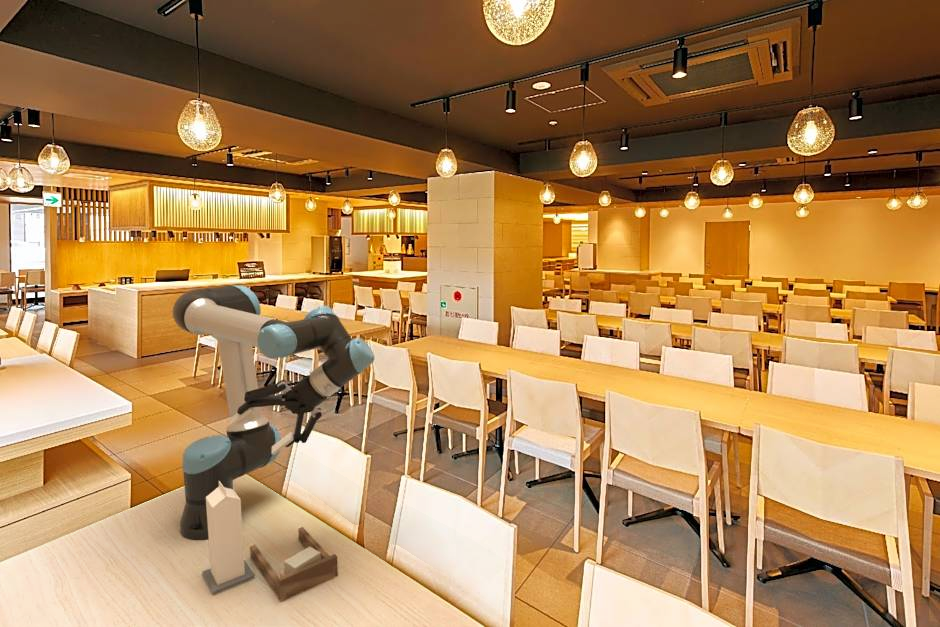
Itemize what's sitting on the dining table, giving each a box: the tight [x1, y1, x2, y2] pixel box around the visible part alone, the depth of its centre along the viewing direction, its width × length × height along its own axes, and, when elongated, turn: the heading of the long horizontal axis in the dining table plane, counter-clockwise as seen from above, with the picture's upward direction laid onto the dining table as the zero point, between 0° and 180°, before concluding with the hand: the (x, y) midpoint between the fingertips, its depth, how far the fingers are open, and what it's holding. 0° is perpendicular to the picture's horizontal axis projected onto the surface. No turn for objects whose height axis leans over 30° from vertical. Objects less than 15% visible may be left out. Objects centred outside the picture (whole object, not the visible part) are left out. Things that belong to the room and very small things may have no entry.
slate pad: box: [201, 559, 256, 596], centre depth 120 cm, size 9×9×1 cm
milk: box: [206, 481, 245, 585], centre depth 118 cm, size 6×6×22 cm
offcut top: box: [283, 547, 321, 574], centre depth 118 cm, size 4×7×3 cm, turn 144°
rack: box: [249, 526, 339, 602], centre depth 123 cm, size 20×13×5 cm
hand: (252, 437), depth 128 cm, fingers open, 13 cm apart
